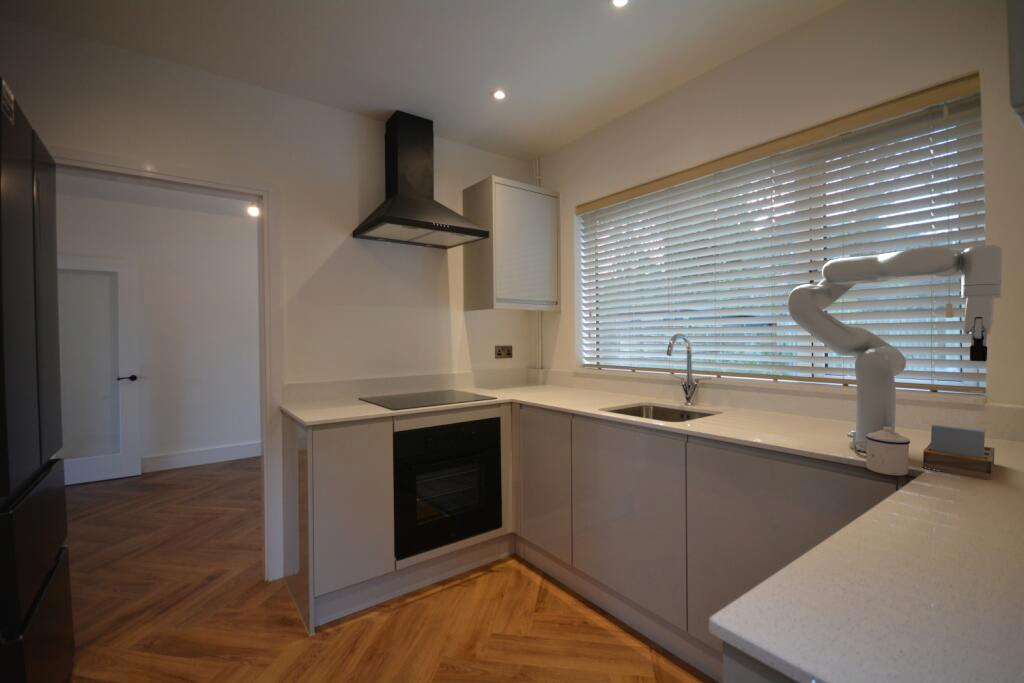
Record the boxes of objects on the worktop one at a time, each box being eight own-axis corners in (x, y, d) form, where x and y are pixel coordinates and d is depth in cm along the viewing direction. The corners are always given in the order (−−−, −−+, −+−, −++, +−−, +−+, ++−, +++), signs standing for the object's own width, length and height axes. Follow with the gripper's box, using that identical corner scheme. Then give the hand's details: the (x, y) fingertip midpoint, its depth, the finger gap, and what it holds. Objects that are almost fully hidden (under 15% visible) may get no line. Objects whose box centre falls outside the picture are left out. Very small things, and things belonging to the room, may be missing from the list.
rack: (990, 479, 116) (991, 460, 116) (923, 468, 125) (923, 450, 125) (994, 463, 130) (994, 446, 129) (932, 454, 139) (932, 438, 139)
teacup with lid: (910, 470, 123) (911, 427, 123) (907, 478, 117) (909, 432, 117) (855, 461, 132) (856, 420, 131) (849, 468, 125) (850, 425, 125)
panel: (982, 471, 118) (984, 432, 118) (930, 462, 126) (931, 425, 125) (983, 469, 120) (984, 430, 120) (931, 460, 127) (932, 424, 127)
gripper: (963, 294, 132) (961, 359, 132) (958, 291, 122) (956, 361, 122) (1001, 293, 126) (999, 360, 127) (1000, 290, 116) (997, 363, 117)
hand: (978, 360), depth 125 cm, fingers closed
